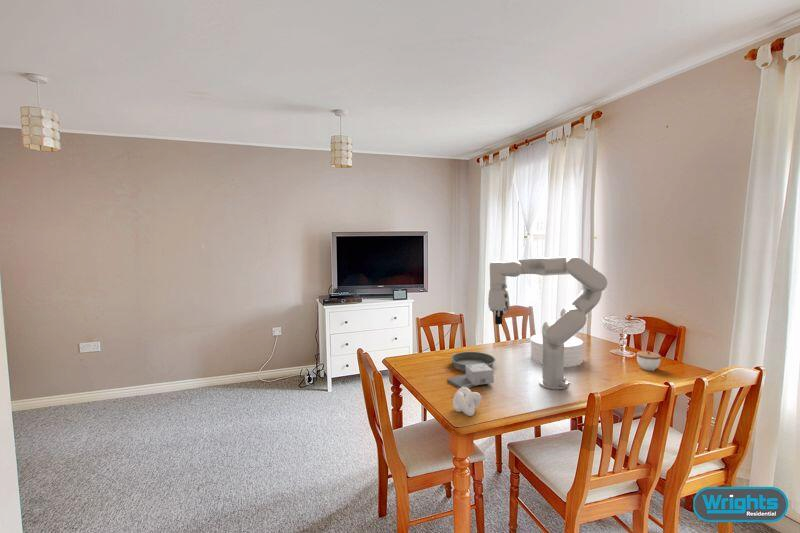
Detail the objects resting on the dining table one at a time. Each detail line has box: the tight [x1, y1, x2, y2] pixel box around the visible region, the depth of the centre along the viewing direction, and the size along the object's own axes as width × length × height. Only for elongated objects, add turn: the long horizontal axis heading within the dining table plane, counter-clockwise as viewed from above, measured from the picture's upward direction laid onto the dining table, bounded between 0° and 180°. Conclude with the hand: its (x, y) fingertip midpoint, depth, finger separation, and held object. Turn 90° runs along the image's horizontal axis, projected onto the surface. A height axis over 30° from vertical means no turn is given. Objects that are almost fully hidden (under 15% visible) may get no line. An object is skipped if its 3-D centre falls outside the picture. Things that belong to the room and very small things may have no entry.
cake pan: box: [450, 351, 496, 372], centre depth 212 cm, size 25×25×4 cm
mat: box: [446, 373, 478, 389], centre depth 188 cm, size 12×14×1 cm
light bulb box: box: [465, 363, 495, 386], centre depth 186 cm, size 11×7×11 cm
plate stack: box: [529, 333, 584, 368], centre depth 220 cm, size 28×28×12 cm
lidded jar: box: [636, 350, 662, 371], centre depth 201 cm, size 11×11×9 cm
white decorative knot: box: [452, 387, 482, 417], centre depth 157 cm, size 11×12×9 cm
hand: (498, 323), depth 186 cm, fingers closed
